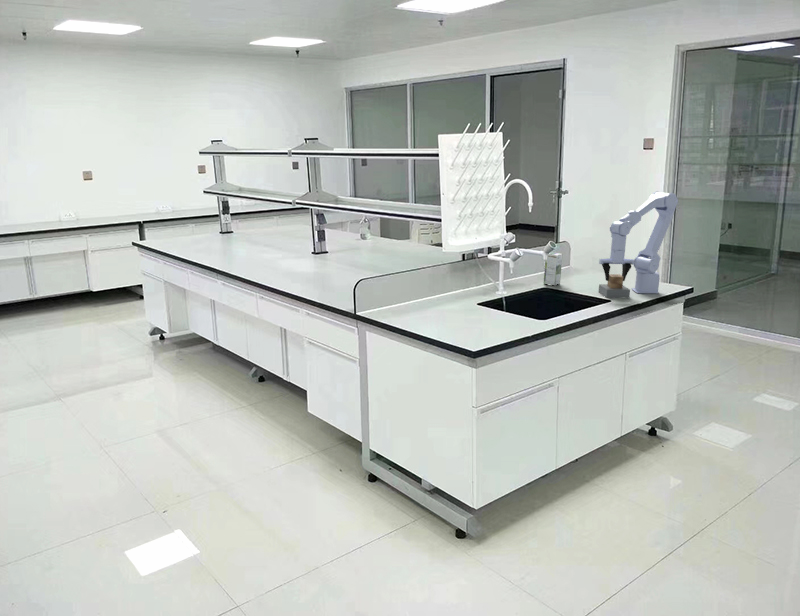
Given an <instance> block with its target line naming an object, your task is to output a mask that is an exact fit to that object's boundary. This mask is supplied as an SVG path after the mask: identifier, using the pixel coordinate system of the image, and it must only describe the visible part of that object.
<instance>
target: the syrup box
mask: <svg viewBox="0 0 800 616" xmlns="http://www.w3.org/2000/svg"><path fill="white" fill-rule="evenodd" d="M547 254H548V253H547ZM545 260H546V259H545ZM562 264H563V254H562V253H559V252H549V254H548V256H547V260H546V261H545V263H544V275H543V285H545V284H551V285H550V286H552V285H556V286H558V285H560V284H561V277H562V276H561V275H562ZM557 284H558V285H557Z"/></svg>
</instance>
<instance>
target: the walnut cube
mask: <svg viewBox="0 0 800 616" xmlns="http://www.w3.org/2000/svg"><path fill="white" fill-rule="evenodd" d="M607 286H609V287H610V288H622V286H624V281H623V276H622V274H620V273H619V274H617V273H616V274H615V273H614V274H613V273H612V274H610V273H609V281H607Z"/></svg>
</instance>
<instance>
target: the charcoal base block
mask: <svg viewBox="0 0 800 616" xmlns="http://www.w3.org/2000/svg"><path fill="white" fill-rule="evenodd" d="M607 284H608V283H607ZM607 284H605V283H604V284H602V283H601V284H599V285H598V293H599V294H600V295H602V296H603V297H604V296H605V297H604V298H606V299H614V298H615V299H620V298H619V297H629V298H630V293H631V289H630V288H628V287H626V286H625V285H623V286H622V288H610V287H609V286H607Z"/></svg>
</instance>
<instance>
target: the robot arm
mask: <svg viewBox="0 0 800 616" xmlns="http://www.w3.org/2000/svg"><path fill="white" fill-rule="evenodd" d="M678 203H679V199H678V197H677V194H676V193H673V192H663V191H658V190H657V191H654V192H653V193H652V194H650V195H649V197H648V199H646V201H645V202H644V203H643V204H641V205H640V206H639V207H638V208H637V209H636V210H635V209H634V210H632V209H631V210H629V211H627V212H628V213H626V215H624V216H623V217H621V218H620V219H619V220H615V221H613V222H612V223H611V224H610V227H609V232H610V233H611V234H610V235H611V244H610V245H611V247H610V254H609V257H610V258H599V260H598V264H599V265H601V266H602V269H603V272H604V276H605V281H606V282H608V281H609V274H610V272H611V271H610V270H611V265H621V268H622V272H621V276H623V282H625V281H626V278H627V276H628V273H629V271H630V270H631V269H632V265H633V268H635V271H636V272H635V273H636V275H635V284H634V287H632V288H631V290H632V291H634V292H635V293H636V294H659V293H660V292H659V289H660V287H659V286H660V273H659V272H657V271H658V269H659V266H660V260H661V257H660V255H659V251H660V247H661V245H662V243H663V241H664V238H665V236H666V234H667V232H668V229H669V227H670V224H671V223H672V220H673V218H674V216H675V215H674V213H675V210H676V208H677V206H678ZM652 210H655V211H656V212H657V213H658V218H657V220H656V222H655V224H654V226H653V229H652V232H651V234H650V236H649V238H648V241H647V243H646V246H645V248H644V249H642V250H640V251H639V252H638V254H637V255H636V257H635V258H634V259H633V258H632V259H631V258H629V259H628V258H625V253H626V243H627V235H629V234H630V233H631V230H632V229H633V228H634V227H635V225H637V224H638V223H640V221H642V217H644V215H646V214H648V213H649V212H651V211H652Z"/></svg>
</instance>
